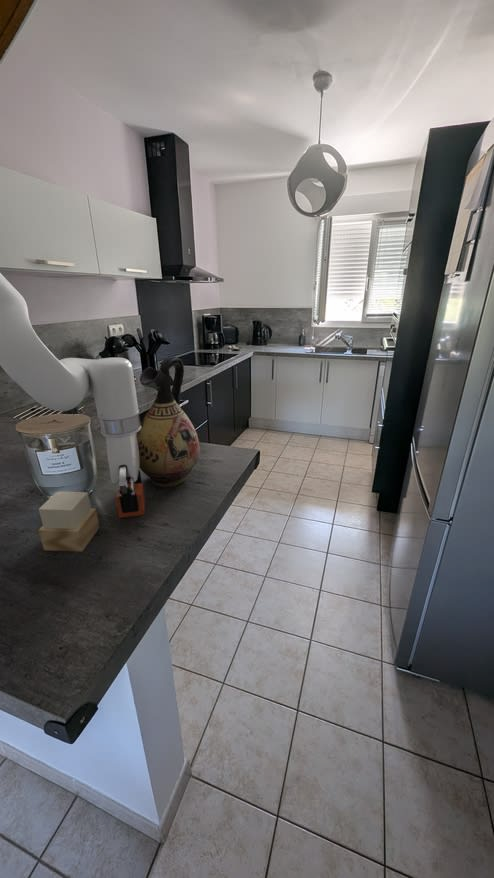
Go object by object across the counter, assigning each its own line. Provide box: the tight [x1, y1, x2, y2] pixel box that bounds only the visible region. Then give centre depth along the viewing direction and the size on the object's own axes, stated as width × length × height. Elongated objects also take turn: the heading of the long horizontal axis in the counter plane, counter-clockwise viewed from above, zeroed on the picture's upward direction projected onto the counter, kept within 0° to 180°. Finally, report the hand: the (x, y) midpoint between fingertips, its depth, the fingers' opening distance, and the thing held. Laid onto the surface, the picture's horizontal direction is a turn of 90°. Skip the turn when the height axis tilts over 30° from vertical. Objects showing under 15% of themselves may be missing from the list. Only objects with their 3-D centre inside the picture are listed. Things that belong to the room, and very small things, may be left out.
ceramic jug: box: [136, 356, 201, 488], centre depth 84 cm, size 17×15×30 cm
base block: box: [38, 507, 101, 553], centre depth 67 cm, size 7×7×4 cm
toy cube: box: [115, 482, 146, 519], centre depth 76 cm, size 5×5×5 cm
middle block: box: [38, 491, 92, 529], centre depth 65 cm, size 6×6×4 cm
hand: (132, 498), depth 76 cm, fingers open, 9 cm apart
